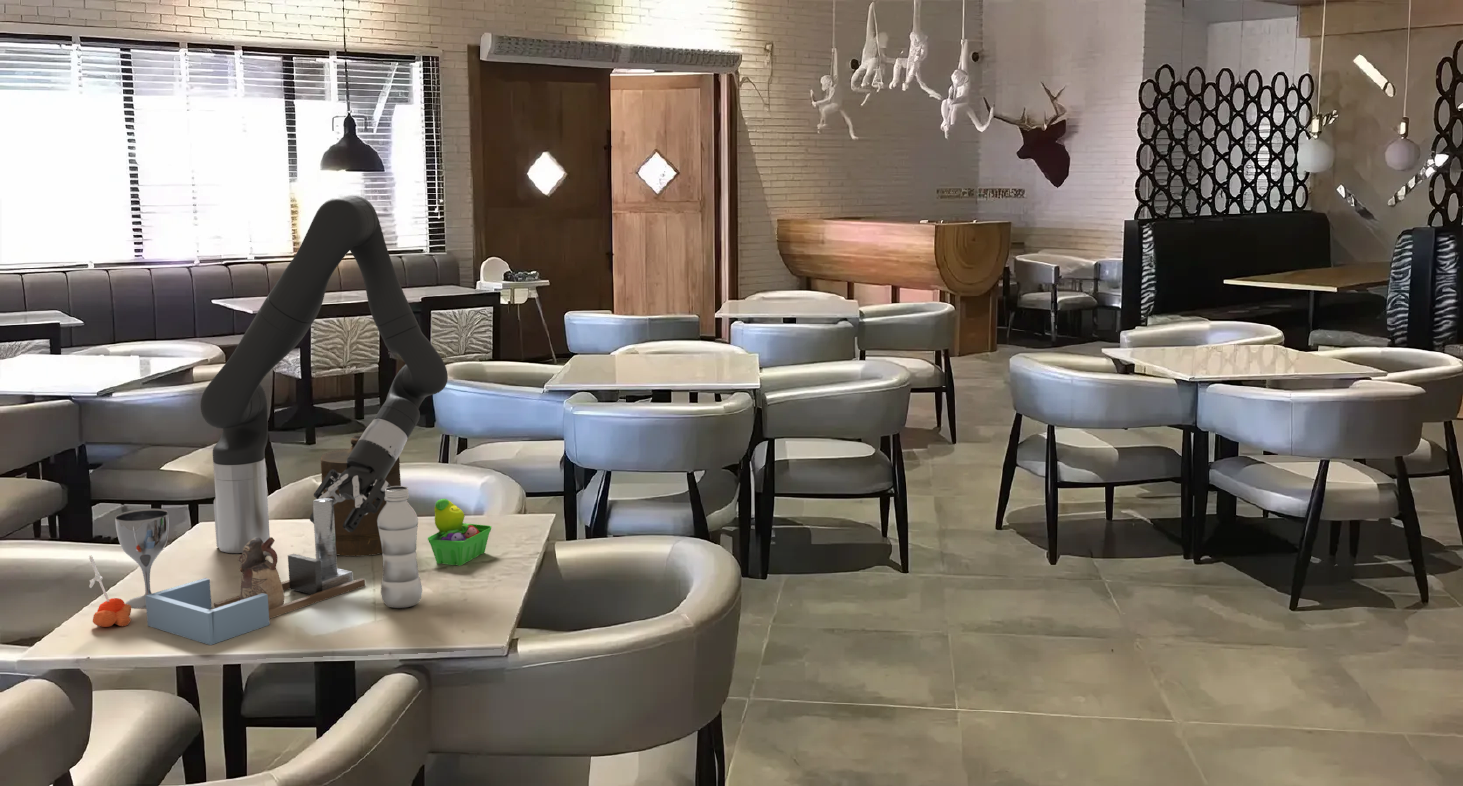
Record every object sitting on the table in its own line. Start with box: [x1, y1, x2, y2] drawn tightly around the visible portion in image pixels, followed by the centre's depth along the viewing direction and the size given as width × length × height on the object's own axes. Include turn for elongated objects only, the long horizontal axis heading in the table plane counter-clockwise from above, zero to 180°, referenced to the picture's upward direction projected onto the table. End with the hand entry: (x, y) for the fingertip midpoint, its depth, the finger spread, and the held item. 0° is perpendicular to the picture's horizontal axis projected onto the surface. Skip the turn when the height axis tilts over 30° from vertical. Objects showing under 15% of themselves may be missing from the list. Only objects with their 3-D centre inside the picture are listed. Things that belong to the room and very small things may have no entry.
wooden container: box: [320, 433, 402, 557], centre depth 239 cm, size 15×15×22 cm
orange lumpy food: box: [88, 555, 132, 628], centre depth 195 cm, size 6×10×12 cm, turn 170°
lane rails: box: [213, 578, 366, 619], centre depth 209 cm, size 11×22×1 cm, turn 148°
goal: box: [144, 577, 270, 646], centre depth 196 cm, size 16×11×5 cm, turn 57°
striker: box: [287, 498, 354, 595], centre depth 214 cm, size 7×8×15 cm
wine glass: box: [114, 508, 170, 609], centre depth 207 cm, size 8×8×15 cm
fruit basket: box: [427, 498, 492, 567], centre depth 232 cm, size 11×9×11 cm
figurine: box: [237, 536, 285, 609], centre depth 204 cm, size 7×7×12 cm
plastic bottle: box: [377, 485, 423, 609], centre depth 204 cm, size 6×7×20 cm
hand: (330, 526), depth 215 cm, fingers open, 8 cm apart
